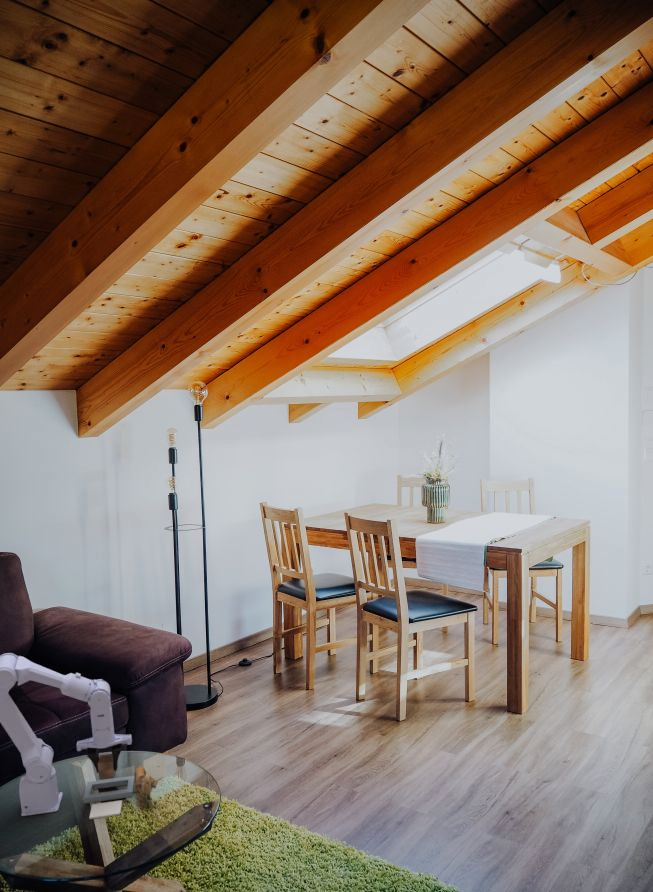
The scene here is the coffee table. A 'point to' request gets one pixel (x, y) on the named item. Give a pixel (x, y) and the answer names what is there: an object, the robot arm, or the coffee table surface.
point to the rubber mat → (105, 809)
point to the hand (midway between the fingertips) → (107, 769)
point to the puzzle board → (111, 794)
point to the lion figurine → (143, 784)
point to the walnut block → (106, 767)
